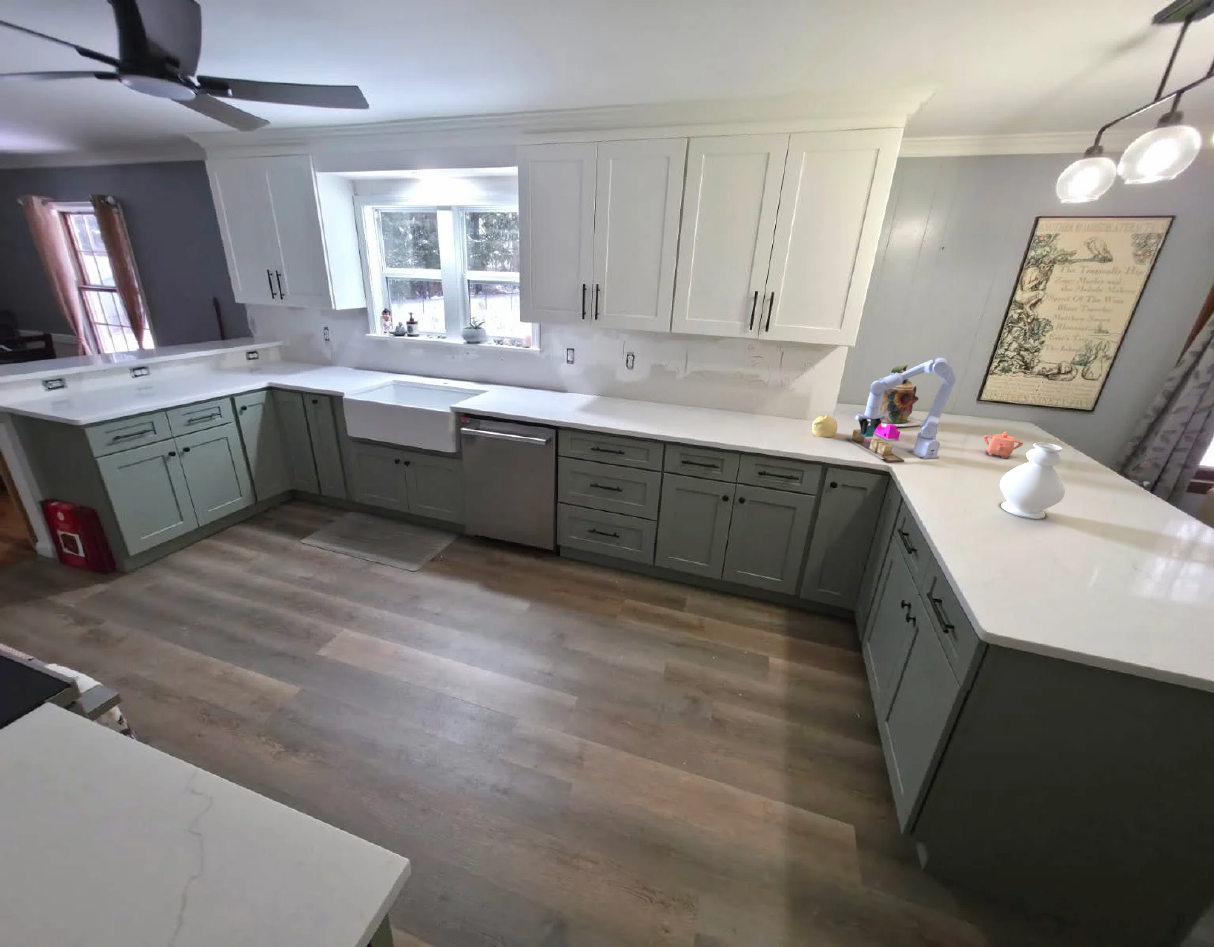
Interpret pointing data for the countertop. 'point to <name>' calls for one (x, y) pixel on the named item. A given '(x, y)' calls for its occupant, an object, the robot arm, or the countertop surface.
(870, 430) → the teal cube
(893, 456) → the board
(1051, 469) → the decorative vase
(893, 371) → the cookie jar
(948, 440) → the countertop surface
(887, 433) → the toy block
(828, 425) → the pale yellow lumpy ball
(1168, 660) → the countertop surface
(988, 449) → the teapot
